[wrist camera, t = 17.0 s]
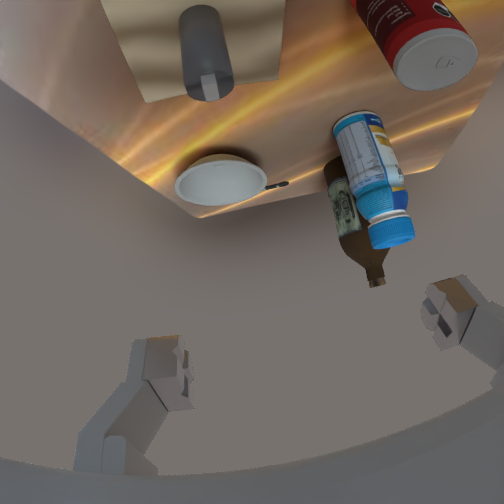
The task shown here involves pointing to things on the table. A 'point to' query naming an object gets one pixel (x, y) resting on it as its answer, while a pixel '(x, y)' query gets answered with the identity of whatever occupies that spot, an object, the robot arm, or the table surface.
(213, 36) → the dark grey cylinder
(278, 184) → the chef's knife
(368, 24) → the canned food
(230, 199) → the dish
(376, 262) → the olive oil
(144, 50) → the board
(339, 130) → the beverage bottle
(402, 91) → the table surface
